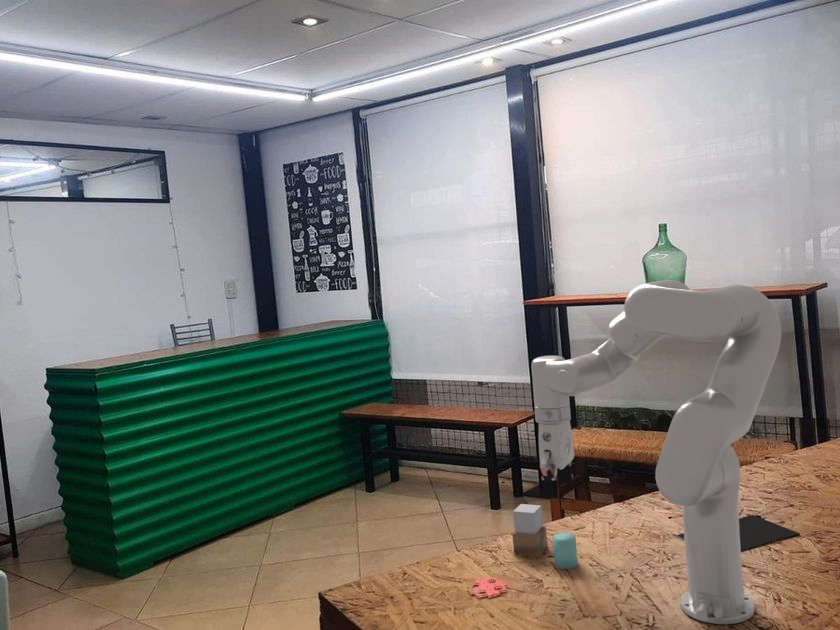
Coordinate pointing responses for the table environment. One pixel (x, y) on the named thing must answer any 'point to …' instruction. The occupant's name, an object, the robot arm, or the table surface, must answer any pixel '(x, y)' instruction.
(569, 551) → the teal cylinder
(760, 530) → the black flat plate
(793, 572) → the table surface
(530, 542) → the walnut base block
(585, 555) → the table surface
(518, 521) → the grey top block
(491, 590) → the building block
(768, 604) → the table surface
